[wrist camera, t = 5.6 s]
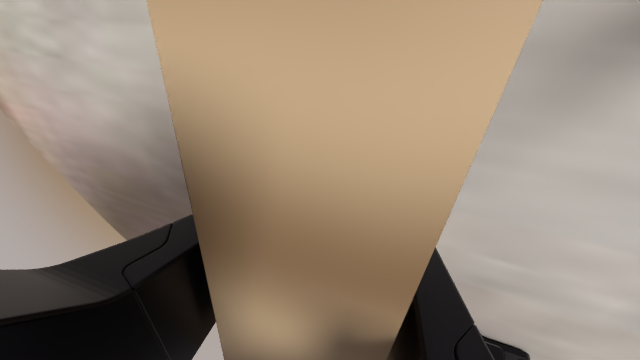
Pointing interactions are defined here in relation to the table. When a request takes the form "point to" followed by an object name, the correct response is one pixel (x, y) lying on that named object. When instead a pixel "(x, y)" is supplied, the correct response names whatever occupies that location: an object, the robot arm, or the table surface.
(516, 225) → the table surface
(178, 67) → the bed rail
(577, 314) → the table surface
